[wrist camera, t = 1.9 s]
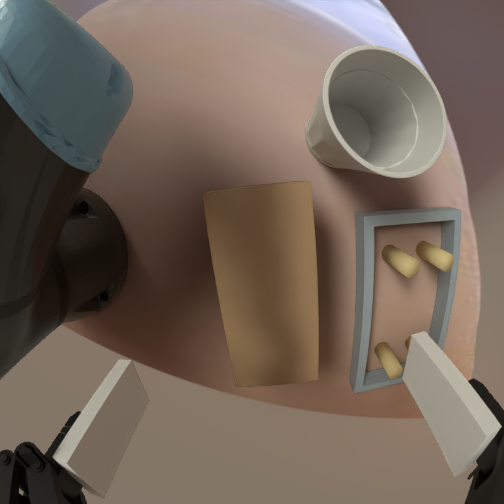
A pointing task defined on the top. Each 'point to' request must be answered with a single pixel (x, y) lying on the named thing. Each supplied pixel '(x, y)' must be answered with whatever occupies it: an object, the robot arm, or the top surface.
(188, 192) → the top surface
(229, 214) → the board
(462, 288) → the top surface
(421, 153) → the cup
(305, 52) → the top surface
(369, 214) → the frame
